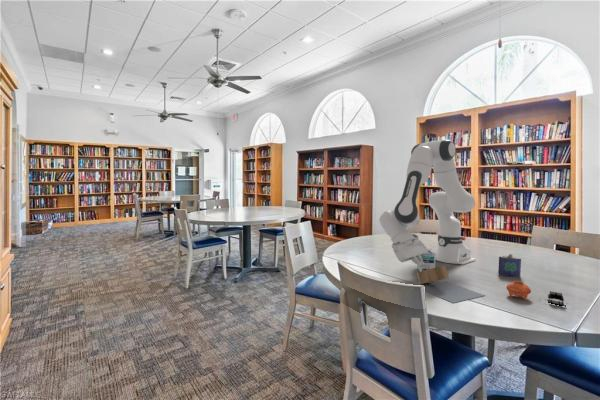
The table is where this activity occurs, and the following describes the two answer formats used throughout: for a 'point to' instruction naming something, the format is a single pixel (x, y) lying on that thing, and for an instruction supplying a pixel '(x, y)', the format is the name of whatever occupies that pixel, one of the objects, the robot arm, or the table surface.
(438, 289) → the mat
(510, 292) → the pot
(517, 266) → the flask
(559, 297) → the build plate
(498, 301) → the table surface
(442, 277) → the walnut block
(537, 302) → the table surface
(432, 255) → the light bulb box
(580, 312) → the table surface
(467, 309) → the table surface
